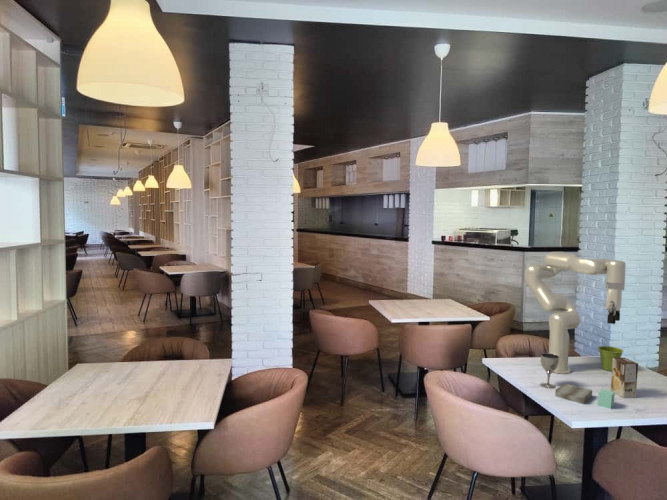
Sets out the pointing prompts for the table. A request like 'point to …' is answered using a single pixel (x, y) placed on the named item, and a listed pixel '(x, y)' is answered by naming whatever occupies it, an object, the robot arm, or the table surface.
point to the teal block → (606, 398)
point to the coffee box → (624, 377)
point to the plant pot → (609, 356)
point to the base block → (573, 393)
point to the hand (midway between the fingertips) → (613, 321)
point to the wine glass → (549, 367)
